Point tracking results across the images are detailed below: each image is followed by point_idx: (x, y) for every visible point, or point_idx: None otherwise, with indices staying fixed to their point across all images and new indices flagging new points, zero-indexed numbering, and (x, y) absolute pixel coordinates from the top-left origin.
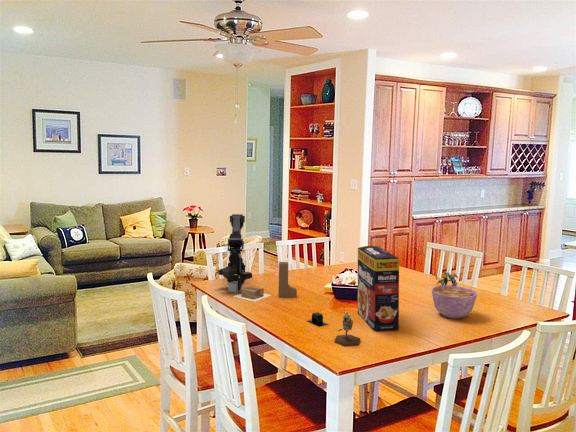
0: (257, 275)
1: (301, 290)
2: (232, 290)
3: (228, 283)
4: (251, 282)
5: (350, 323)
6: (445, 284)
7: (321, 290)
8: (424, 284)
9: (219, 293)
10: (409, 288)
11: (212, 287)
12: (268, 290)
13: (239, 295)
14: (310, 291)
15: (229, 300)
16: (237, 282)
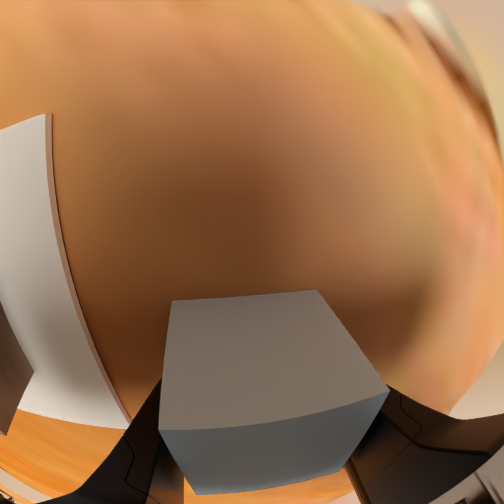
0: (334, 498)
1: (34, 475)
2: (242, 316)
3: (378, 376)
4: (300, 484)
5: None
6: (10, 498)
7: (19, 477)
8: (21, 501)
9: (364, 135)
10: (3, 488)
11: (485, 277)
12: (85, 463)
13: (17, 227)
14: (15, 469)
15: (22, 10)
16: (236, 476)
